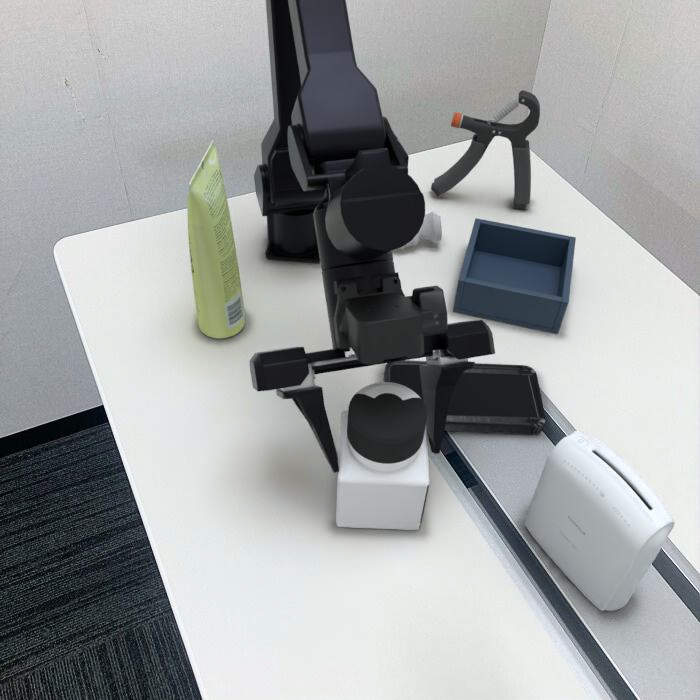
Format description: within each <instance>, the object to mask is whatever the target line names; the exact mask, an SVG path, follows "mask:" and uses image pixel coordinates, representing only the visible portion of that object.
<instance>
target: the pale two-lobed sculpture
mask: <svg viewBox="0 0 700 700" xmlns="http://www.w3.org/2000/svg"><path fill="white" fill-rule="evenodd" d="M442 227H443V226H442V219H441V216H440V215H438V214H437V213H435V212H434V211H431V212H429V213H427V214H426V213H425V217H424V221H423V224H422V226H421V228H420V230H419V232H418V234H417V235H416V236H415V237H414V238H413V239H412V241H410V242H409V243H407V244H406V245H404V246H403V247H401V248H399V249H398V250H404V249H405V248H409V247H412V246H417V245H418V244H419V243H420V240H427V241H430V242H431V243H433V244H436V243H438V242H440V241H442V238H443V237H442V236H443V230H442Z"/></svg>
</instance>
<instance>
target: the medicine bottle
mask: <svg viewBox="0 0 700 700" xmlns="http://www.w3.org/2000/svg"><path fill="white" fill-rule="evenodd" d="M426 421H427V410H426V406H425V404H424V402H423V401H422V399H421V398H420V397H419V396H418V395H417V394H416V393H415V392H414V391H412V390H411V389H409V388H407V387H406V386H403V385H401V384H397V383H392V382H384V381H381V382H375V383H371V384H369V385H365V386H363V387H362V388H360V389H359V390H358V391H356V393H354V395H352V397H351V399H350V401H349V403H348V409H344V410H342V411H341V412H340V416H339V434H338V435H339V436H338V441H339V442H338V455H337V457H338V466H339V472H337V483H336V505H335V525H336V526H337V527H339V528H354V529H379V530H402V531H403V530H404V531H406V530H407V531H419V530H420V529H421V528H422V523H423V518H424V512H425V507H426V503H427V497H428V492H429V488H430V487H429V486H430V482H431V481H430V464H429V448H428V447H429V446H428V435H427V429H426Z"/></svg>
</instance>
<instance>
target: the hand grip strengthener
mask: <svg viewBox="0 0 700 700" xmlns="http://www.w3.org/2000/svg"><path fill="white" fill-rule="evenodd" d="M519 105H523V106H525V107H526V108H527V109H528V110H529V114H528V115H527V117H526V118H525V119H524V120H523V121H521V122H518V123H501V122H500V121H501V120H503V119H504V118H505V117H506V116H508V115H509V114H511V112H513V111H514V110H516V108H518V107H519ZM540 116H541V105H540V101H539V99H538V97H537V96H536V95H535V94H533V93H532V92H531V91H527V90H520V91H519V92H518V99H517V98H515V97H513V98H512V99H511V100H510V101H508V102H507V103H506V104H505V105H503V106H502V107H500V108H499V109H498V110H497V111H496V112H495V113H493V115H492V117H493V118H489V119H488V120H486V119H481V118H476V117H473V116H472V117H471V116H469V115H465V114H462V113H460V112H456V111H454V112H453V115H452V119H451V122H450V127H452V128H455V129H461V130H462V129H463V130H467V131H468V132H471V133H473V136H472V138H471V142H470V144H469V147H468V148H467V150H466V151H465V153H464V154H462V156H461V157H460V158H459V159H458V160H457V161H456V162H455V163H454V164H453V165H452V166H451V167H450V168H449V169H448V170H446V171H445V172H443V173H442V174H441V175H439V176H437V177H435V178H434V180H433V182H431V186H430V190H431V191H432V192H433V193H434V194H435V195H436V196H437V197H439V196H441V195H444V194H445V193H447V192H449V191H450V190H452V189H454V187H456V186H457V185H458V184H460V183H461V182H462V181H463V180H464V179H465V178H466V177H467V176H469V174H470V173H471V172H472V170H473V169H474V168H475V167H476V166H477V165H478V164H479V162H480V161H481V159H482V158H483V156H484V155H485V152H486V151H487V148H488V147H489V146H490V144H491V142H492V141H493V140H494V138H495V137H502V138H506V139H507V140H509V142H510V146H511V152H512V161H513V163H512V164H513V178H514V179H513V181H514V182H513V183H514V185H513V186H514V188H513V189H514V194H513V204H512V205H513V206H512V208H513V209H516V210H517V209H519V210H526V209H527V206H528V205H529V204H530V203H531V194H532V193H531V191H532V190H531V189H532V164H531V148H530V141H529V140H528V139H527V137H528V136H529V135H531V134H532V133H533V132H534V131H535V130H536V129H537V128H538V126H539V124H540V118H541V117H540Z"/></svg>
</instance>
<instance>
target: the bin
mask: <svg viewBox="0 0 700 700" xmlns="http://www.w3.org/2000/svg"><path fill="white" fill-rule="evenodd" d="M576 240H577V237H576V236H572V235H567V234H562V233H561V234H560V233H555V232H550V231H546V230H540V229H534V228H530V227H523V226H518V225H514V224H508V223H503V222H498V221H493V220H487V219H481V218H477V217H475V218H474V222H473V225H472V229H471V233H470V237H469V240H468V242H467V243H468V244H467V247H466V251H465V255H464V259H463V262H462V265H461V269H460V273H459V277H458V279H457V286H456V290H455V296H454V302H453V308H452V313H455V314H461V315H465V316H469V317H470V316H471V317H475V318H480V319H484V320H489V321H494V322H499V323H503V324H508V325H512V326H517V327H521V328H526V329H531V330H537V331H541V332H546V333H551V334H555V335H559V332H560V329H561V326H562V323H563V321H564V318H565V314H566V312H567V308H568V306H569V301H570V293H571V284H572V275H573V266H574V258H575V249H576Z"/></svg>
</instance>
